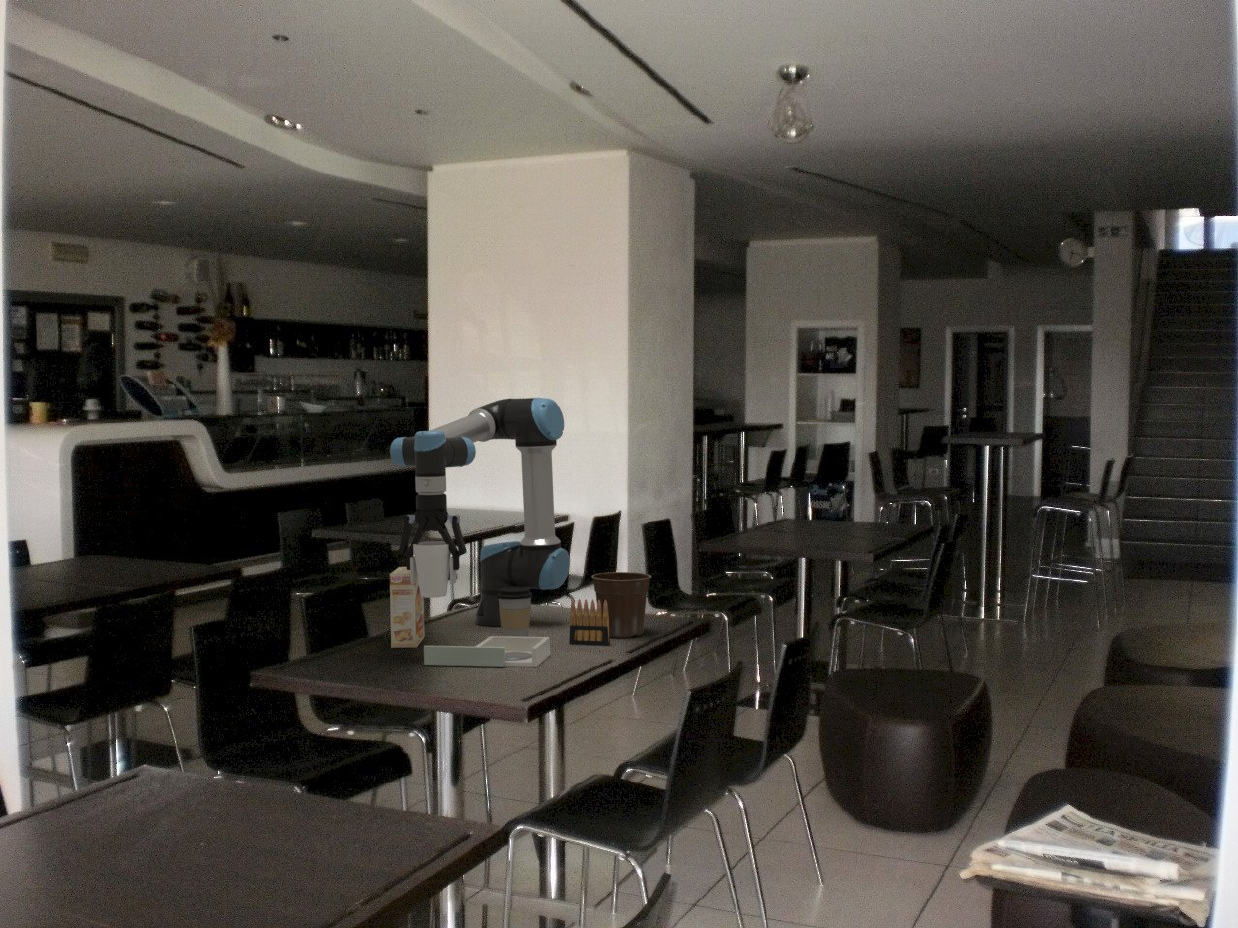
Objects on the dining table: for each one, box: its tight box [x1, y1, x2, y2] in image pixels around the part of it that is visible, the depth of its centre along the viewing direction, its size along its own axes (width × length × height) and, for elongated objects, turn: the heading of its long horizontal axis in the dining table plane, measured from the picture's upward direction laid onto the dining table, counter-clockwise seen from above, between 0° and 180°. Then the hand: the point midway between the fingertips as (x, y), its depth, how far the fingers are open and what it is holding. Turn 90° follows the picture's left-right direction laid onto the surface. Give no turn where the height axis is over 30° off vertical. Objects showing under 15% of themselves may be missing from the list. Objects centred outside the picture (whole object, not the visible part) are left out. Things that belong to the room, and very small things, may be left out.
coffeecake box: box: [389, 566, 425, 649], centre depth 330 cm, size 15×7×20 cm, turn 0°
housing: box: [475, 635, 551, 668], centre depth 305 cm, size 14×15×4 cm
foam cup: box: [413, 540, 452, 599], centre depth 307 cm, size 10×9×13 cm
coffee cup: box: [497, 587, 533, 637], centre depth 323 cm, size 9×9×15 cm
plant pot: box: [591, 571, 652, 639], centre depth 337 cm, size 16×16×16 cm
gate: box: [423, 645, 506, 668], centre depth 299 cm, size 1×20×4 cm, turn 80°
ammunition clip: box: [568, 598, 611, 647], centre depth 323 cm, size 11×2×12 cm, turn 76°
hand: (433, 583), depth 307 cm, fingers closed on foam cup, 9 cm apart
